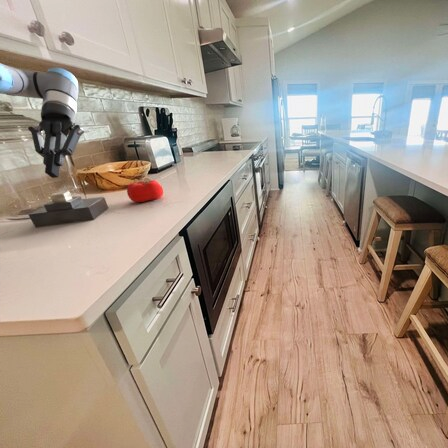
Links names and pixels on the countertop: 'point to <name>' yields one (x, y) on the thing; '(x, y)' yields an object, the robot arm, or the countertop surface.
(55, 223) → the dark grey stepped block
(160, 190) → the tomato
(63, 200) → the grey brown cube
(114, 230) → the countertop surface
